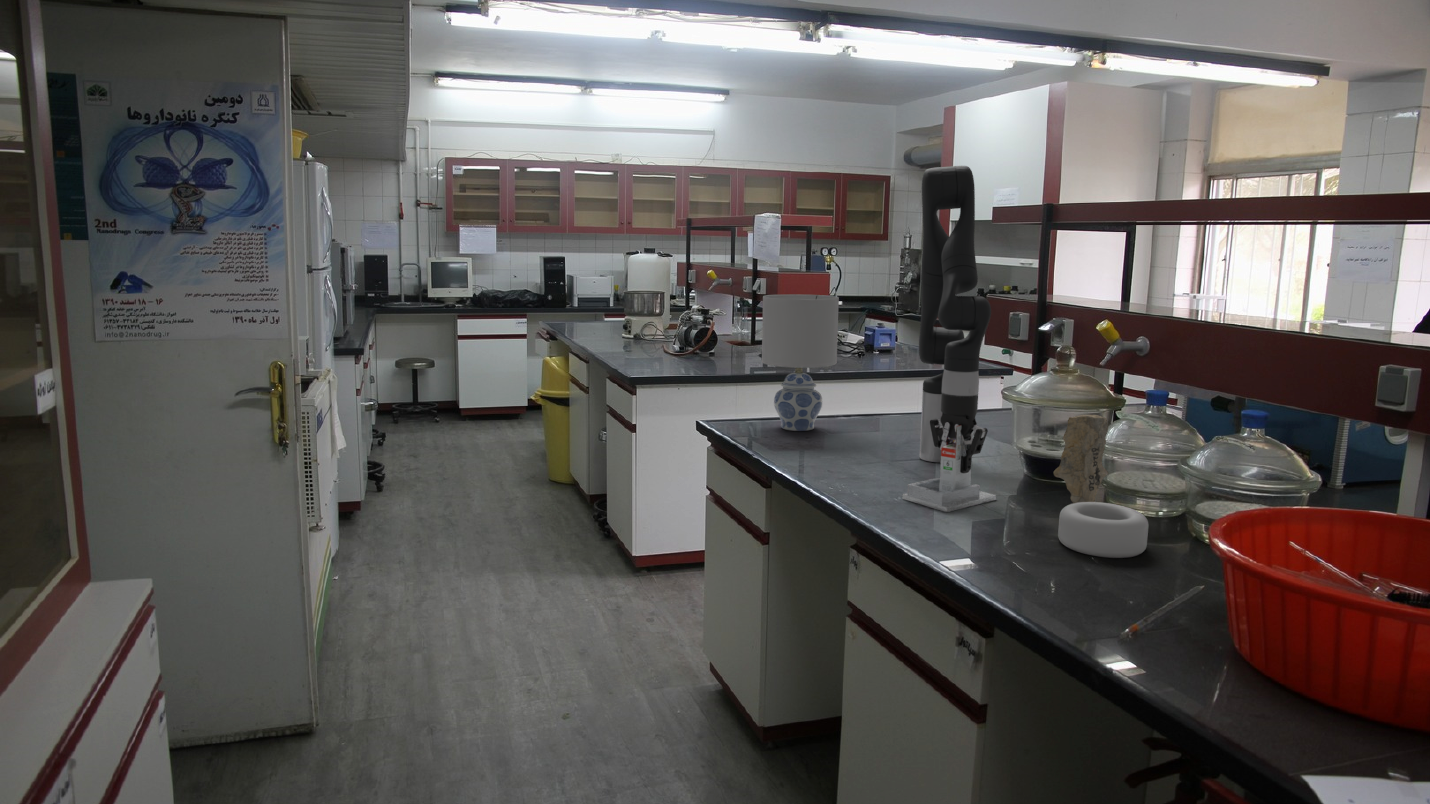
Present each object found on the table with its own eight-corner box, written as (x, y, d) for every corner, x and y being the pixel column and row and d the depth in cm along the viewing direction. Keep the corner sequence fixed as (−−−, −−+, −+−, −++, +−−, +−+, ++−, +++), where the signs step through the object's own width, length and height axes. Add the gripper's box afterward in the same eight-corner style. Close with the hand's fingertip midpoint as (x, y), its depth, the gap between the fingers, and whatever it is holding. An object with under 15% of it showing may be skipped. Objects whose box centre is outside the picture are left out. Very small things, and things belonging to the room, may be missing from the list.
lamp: (838, 436, 263) (843, 299, 256) (761, 435, 263) (764, 299, 256) (830, 421, 284) (834, 294, 277) (759, 420, 284) (761, 294, 278)
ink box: (938, 491, 199) (940, 424, 197) (955, 484, 205) (958, 419, 203) (954, 494, 197) (957, 426, 195) (971, 487, 203) (974, 421, 200)
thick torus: (1139, 566, 162) (1142, 528, 160) (1049, 549, 169) (1051, 514, 168) (1151, 542, 174) (1154, 507, 173) (1067, 528, 182) (1069, 495, 181)
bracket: (951, 487, 210) (952, 472, 210) (995, 499, 201) (996, 483, 200) (902, 498, 201) (903, 482, 200) (946, 512, 191) (947, 495, 191)
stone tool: (1099, 503, 198) (1107, 410, 195) (1114, 511, 193) (1122, 416, 189) (1044, 505, 197) (1051, 411, 194) (1057, 513, 191) (1064, 416, 188)
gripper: (999, 394, 194) (994, 474, 197) (944, 385, 205) (940, 461, 208) (976, 397, 190) (971, 480, 193) (921, 388, 201) (918, 466, 204)
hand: (955, 469), depth 200 cm, fingers closed on ink box, 4 cm apart
